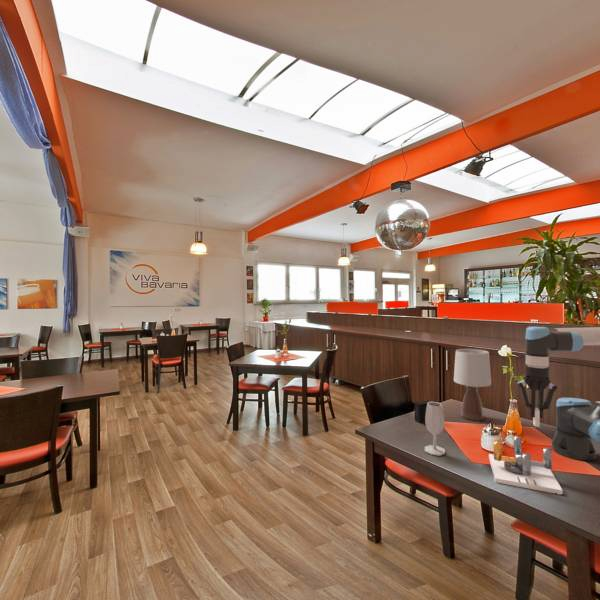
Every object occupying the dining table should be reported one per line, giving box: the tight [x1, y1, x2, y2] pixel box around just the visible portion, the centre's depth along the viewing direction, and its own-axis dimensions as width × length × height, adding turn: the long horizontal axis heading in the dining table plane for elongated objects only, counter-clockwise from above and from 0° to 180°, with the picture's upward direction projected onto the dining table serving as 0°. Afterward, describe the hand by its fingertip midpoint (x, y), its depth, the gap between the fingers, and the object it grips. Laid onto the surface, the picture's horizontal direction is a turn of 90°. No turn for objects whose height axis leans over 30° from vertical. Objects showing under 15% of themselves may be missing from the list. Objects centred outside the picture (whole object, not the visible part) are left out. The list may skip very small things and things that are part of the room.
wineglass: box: [424, 401, 446, 457], centre depth 145 cm, size 9×9×21 cm
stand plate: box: [488, 453, 564, 495], centre depth 127 cm, size 20×20×2 cm
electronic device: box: [414, 400, 432, 424], centre depth 181 cm, size 4×10×10 cm, turn 107°
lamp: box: [453, 348, 492, 422], centre depth 185 cm, size 19×19×37 cm
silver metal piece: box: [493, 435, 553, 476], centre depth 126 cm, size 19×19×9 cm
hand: (536, 425), depth 131 cm, fingers closed
